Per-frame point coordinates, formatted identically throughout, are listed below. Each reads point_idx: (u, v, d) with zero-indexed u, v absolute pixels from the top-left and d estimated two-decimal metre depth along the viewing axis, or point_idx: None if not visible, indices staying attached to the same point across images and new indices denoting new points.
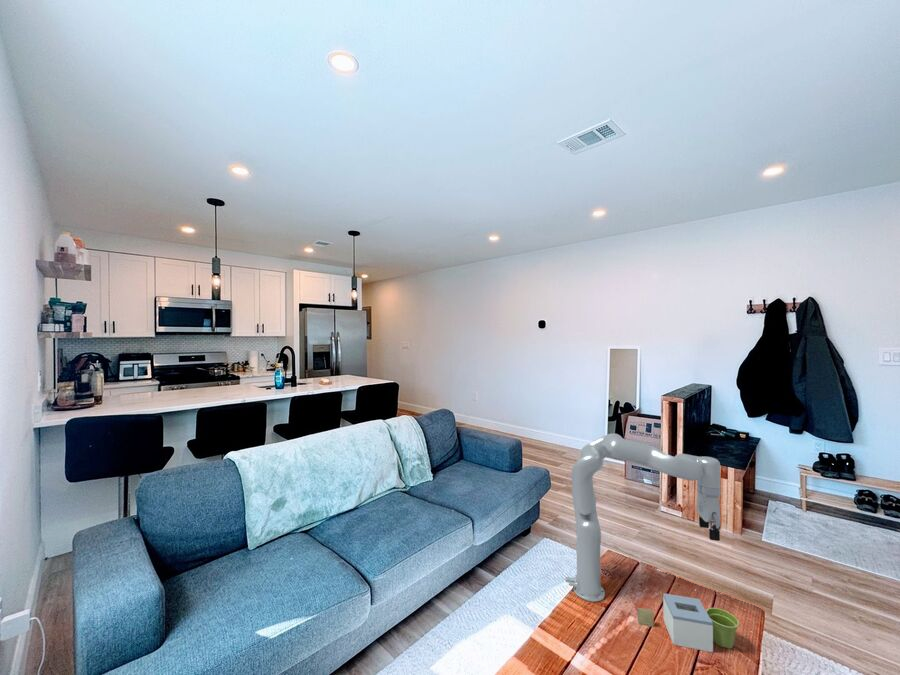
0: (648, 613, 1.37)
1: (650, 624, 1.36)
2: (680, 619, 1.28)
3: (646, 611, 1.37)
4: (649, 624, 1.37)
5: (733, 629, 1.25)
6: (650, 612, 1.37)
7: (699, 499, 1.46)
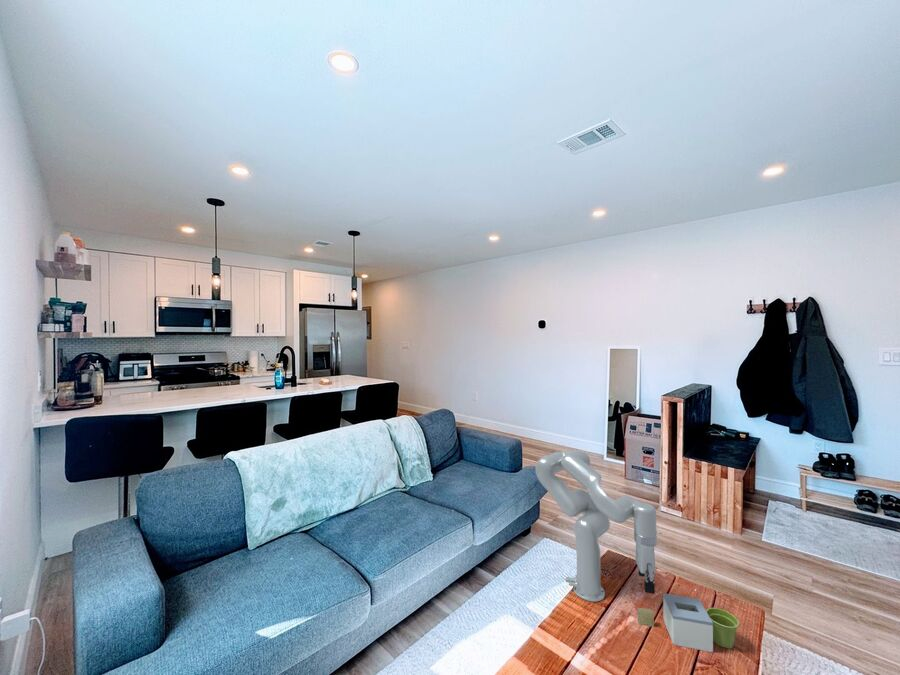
0: (648, 613, 1.37)
1: (650, 624, 1.36)
2: (680, 619, 1.28)
3: (646, 611, 1.37)
4: (649, 624, 1.37)
5: (733, 629, 1.25)
6: (650, 612, 1.37)
7: (636, 547, 1.40)
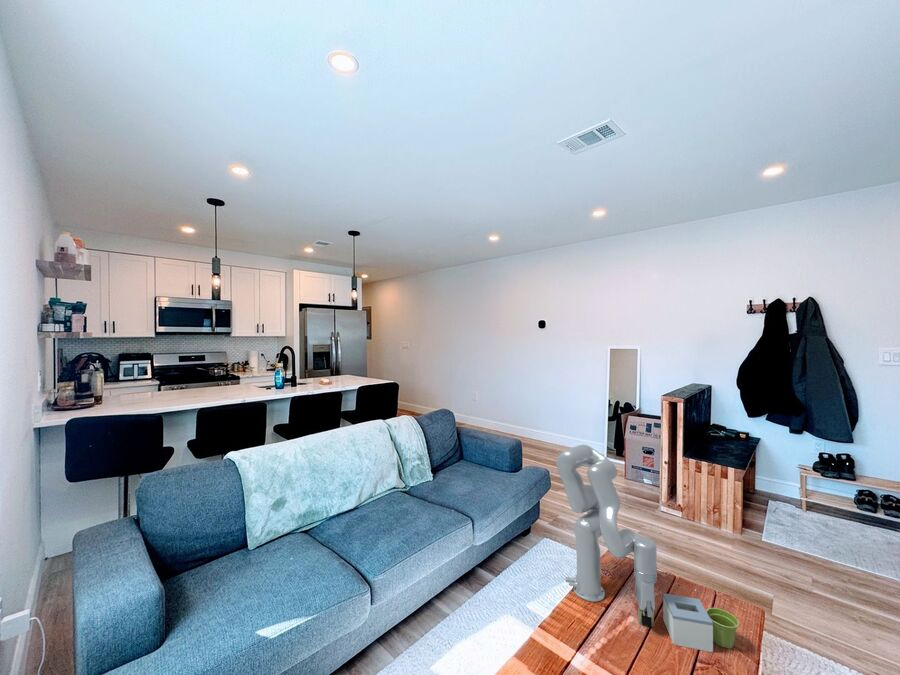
0: None
1: None
2: (680, 619, 1.28)
3: None
4: None
5: (733, 629, 1.25)
6: None
7: (636, 582, 1.40)
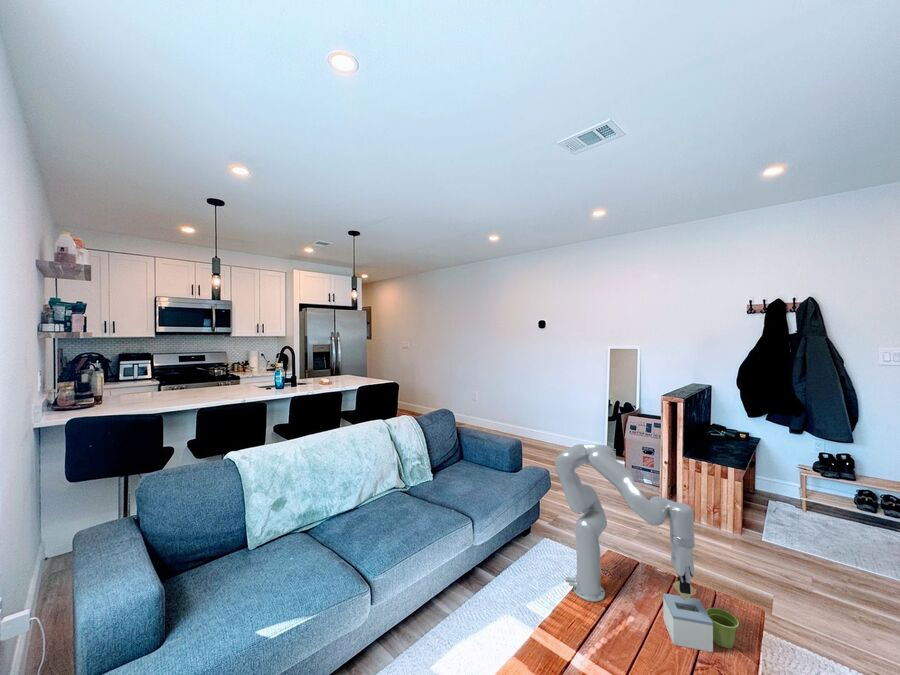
0: None
1: (692, 592, 1.31)
2: (680, 619, 1.28)
3: (679, 583, 1.33)
4: (691, 593, 1.31)
5: (733, 629, 1.25)
6: None
7: (673, 549, 1.35)
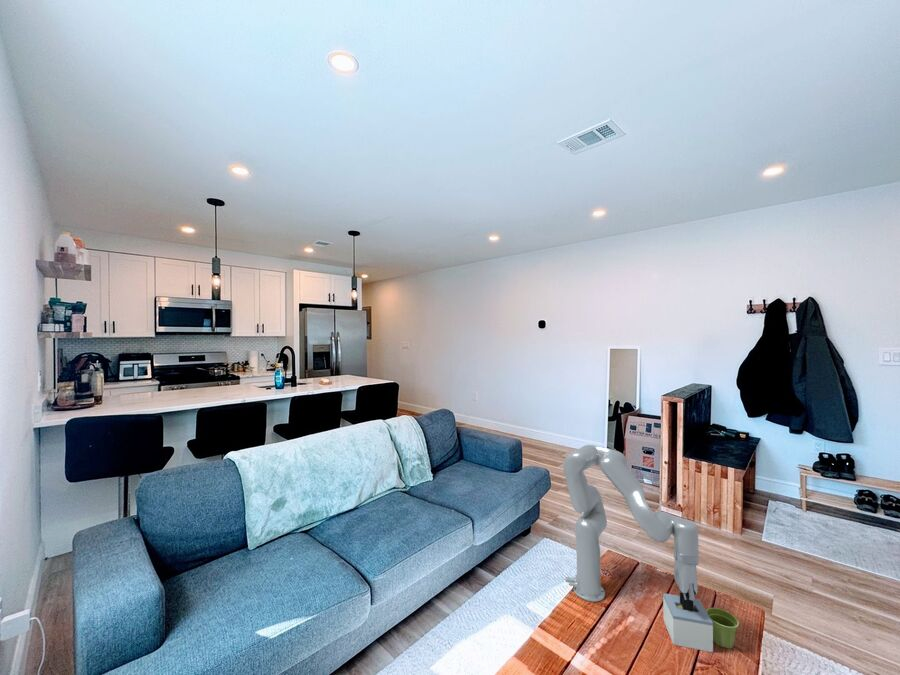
0: None
1: None
2: (680, 619, 1.28)
3: None
4: None
5: (733, 629, 1.25)
6: None
7: (676, 565, 1.35)
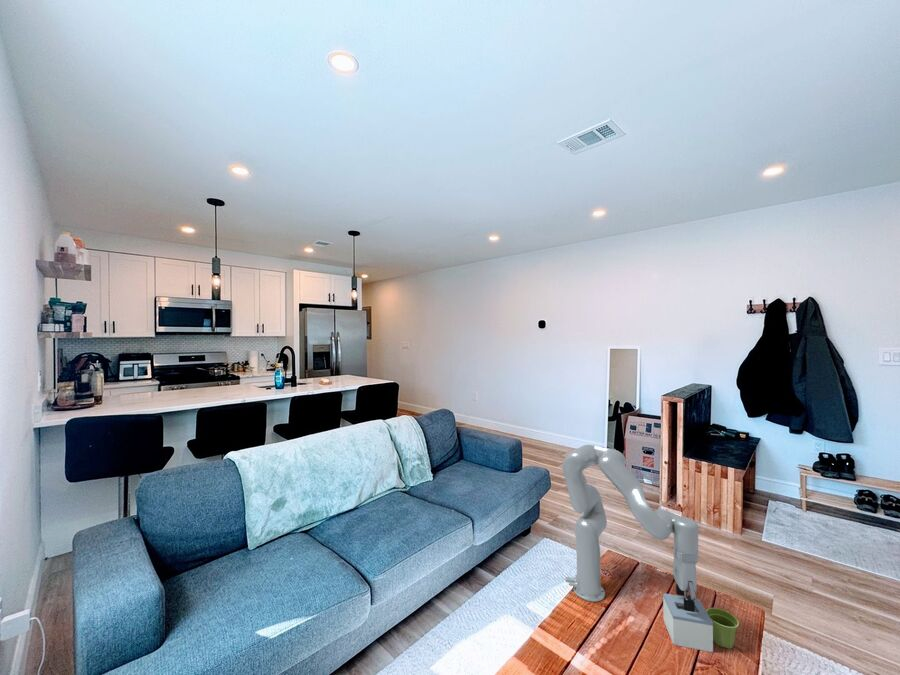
0: None
1: None
2: (680, 619, 1.28)
3: None
4: None
5: (733, 629, 1.25)
6: None
7: (675, 563, 1.35)
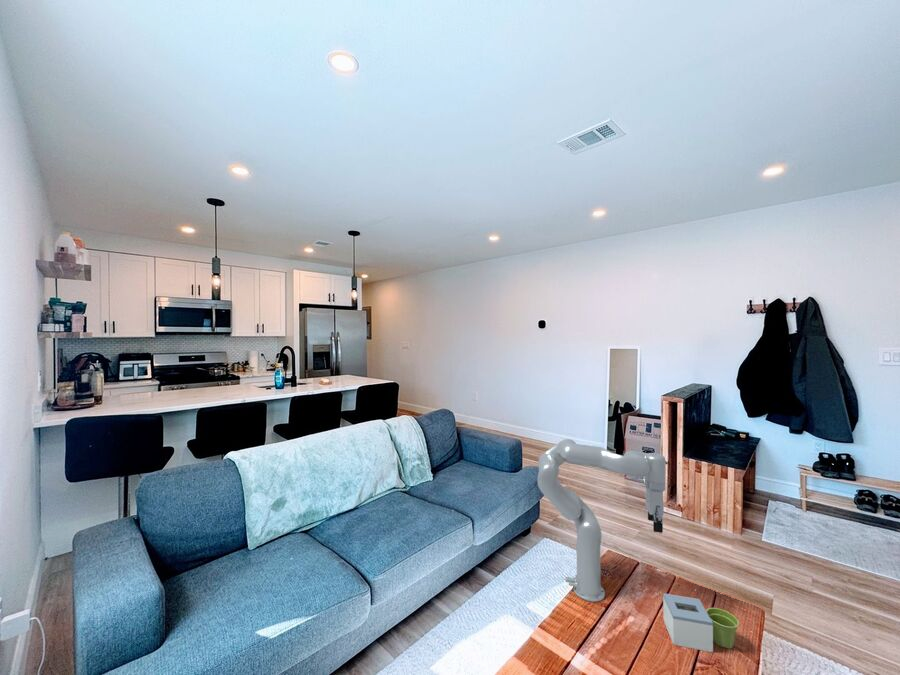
0: None
1: None
2: (680, 619, 1.28)
3: None
4: None
5: (733, 629, 1.25)
6: None
7: (646, 493, 1.53)
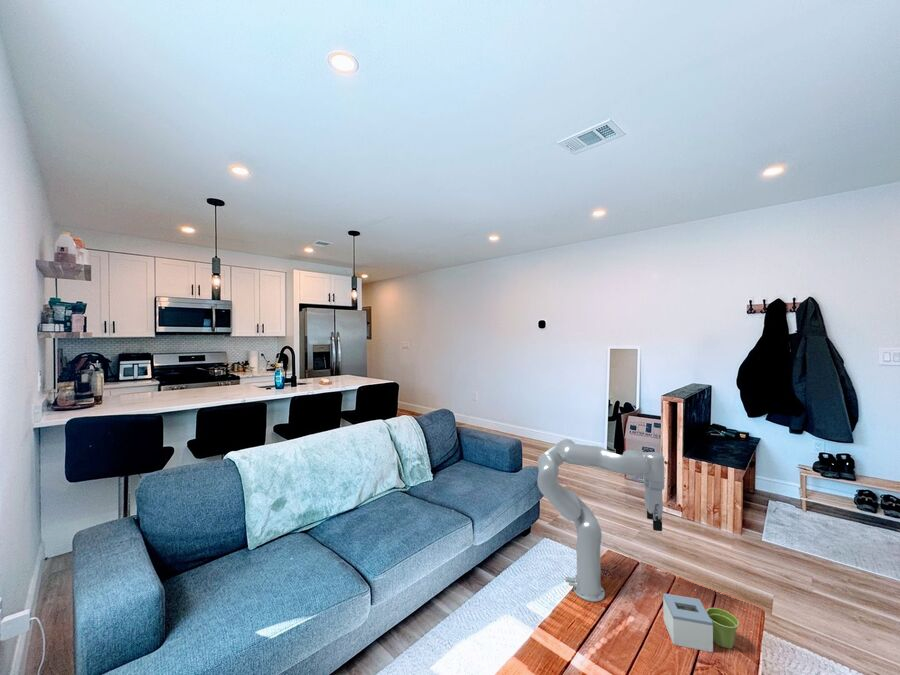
0: None
1: None
2: (680, 619, 1.28)
3: None
4: None
5: (733, 629, 1.25)
6: None
7: (645, 492, 1.54)
